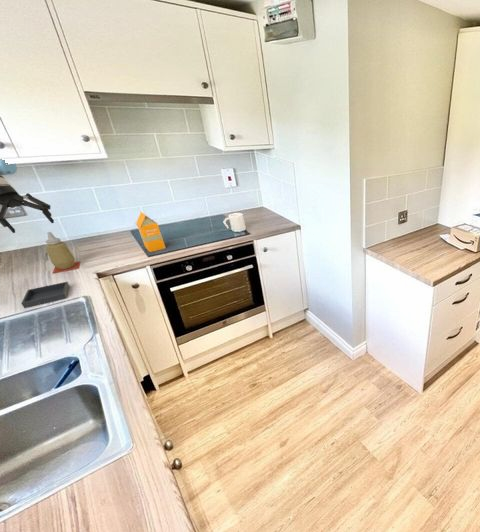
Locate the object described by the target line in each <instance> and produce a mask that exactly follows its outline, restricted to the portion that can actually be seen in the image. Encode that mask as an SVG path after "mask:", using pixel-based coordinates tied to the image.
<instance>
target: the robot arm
mask: <svg viewBox="0 0 480 532" xmlns="http://www.w3.org/2000/svg"><path fill="white" fill-rule="evenodd" d="M6 164H7V165H6ZM17 170H18V166H17V164H16V163H15V164H10V165H8V163H5V160H2V159H0V206H2V207H1V209H0V225H1V226H2V227H3V228H6V227H7V228H8V229H9V231H10V232H11V233H12V234H15V233H16V229H15V228H14V226H13V225H12V224H11V223H10V222H9V221H8V220H7V219H6V218H5V215H6V213H7V212H8V210H9V208H11V209H14V208H19V207H21V206H23V207H28V208H31V209H35V210H38V211H41V212H42V215H44V216H45V218H46V219H47V220H48V221H49V223H51V224H54V223H55V220H54V219H53V217H52V213H51V212H50V210H51V207H52V206H51V204H48V203H47V202H44V201H42V200H40V199H38V198H36V197H35V196H33V195H32V194H30V193H29V192H28V193H26V194H24V195H21V194H20V193H19V192H18V191H17V190H16V188H14V187H13V185H12V184H11V183H10V182H9V181H8V180H7V179H6V178H5V177H4V176H8V175H14V174H16V173H17Z"/></svg>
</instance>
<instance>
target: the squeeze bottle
mask: <svg viewBox="0 0 480 532" xmlns="http://www.w3.org/2000/svg"><path fill="white" fill-rule="evenodd" d="M46 234H47V240H45V243H46V246H45V248H46V252H47V255H48V257H49V260H50V262H51V264H52V265H53V266H54V267H55V266H56V267H57V268H58V269H67V268H70V267H73V266H74V265H75V262H76V261H75V260H76V259H75V256H74V254H73V253H72V252H71V250H70V249H69V247H68V245H67V244H66V242H64V241H62V240H61V238H60V237H56V236H55V235H54V234H53V233H52V232H51V231H49V232H48V231H47V233H46Z"/></svg>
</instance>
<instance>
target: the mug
mask: <svg viewBox="0 0 480 532" xmlns="http://www.w3.org/2000/svg"><path fill="white" fill-rule="evenodd" d="M227 221H229V224H230V227H229V225H228V224H227ZM222 223H223V224H224V226H225V227H226V229H229V228H230V229H231V231H232V232H235V233H239V232H243V231H246V228H247V227H246V223H245V217H244V214H243V213H241V212H235V213H233V212H232V213H229V214H228V217H225V218H224V219H223V221H222Z"/></svg>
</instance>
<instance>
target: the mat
mask: <svg viewBox="0 0 480 532" xmlns="http://www.w3.org/2000/svg"><path fill="white" fill-rule="evenodd" d="M80 264H81V261H75V265H74V266H73V267H70V268H67V269H58V268H57V267H56V266H55V265H54V269H53V271H52V274H58V273H63V272H67V271H73V270H78V269H79V267H80Z"/></svg>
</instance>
